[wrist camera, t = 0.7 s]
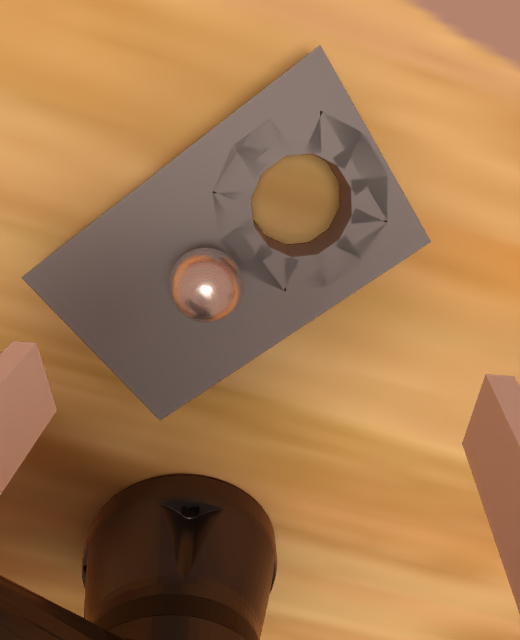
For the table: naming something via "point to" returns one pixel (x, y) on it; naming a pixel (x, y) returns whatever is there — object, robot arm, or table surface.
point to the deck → (230, 243)
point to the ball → (205, 285)
